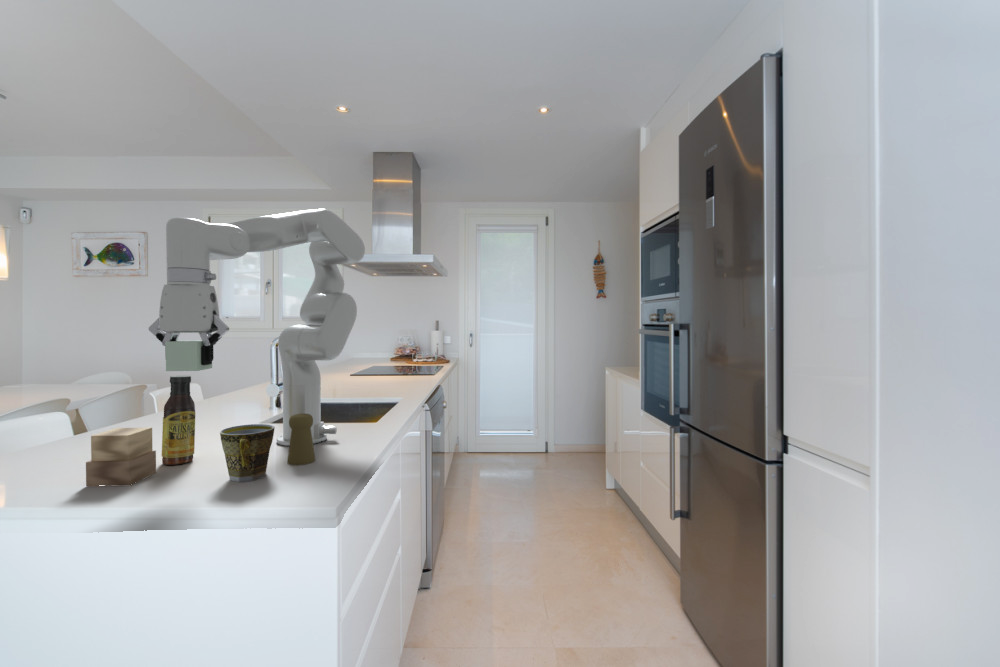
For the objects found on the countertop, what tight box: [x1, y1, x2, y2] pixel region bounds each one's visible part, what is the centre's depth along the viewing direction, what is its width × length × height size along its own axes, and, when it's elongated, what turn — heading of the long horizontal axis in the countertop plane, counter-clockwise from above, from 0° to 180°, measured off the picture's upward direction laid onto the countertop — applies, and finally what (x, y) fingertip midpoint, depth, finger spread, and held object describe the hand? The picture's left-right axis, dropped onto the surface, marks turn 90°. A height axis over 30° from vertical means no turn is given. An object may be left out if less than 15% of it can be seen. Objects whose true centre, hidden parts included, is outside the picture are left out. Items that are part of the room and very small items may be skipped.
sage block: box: [165, 340, 213, 372], centre depth 99 cm, size 6×6×6 cm
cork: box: [286, 413, 316, 466], centre depth 109 cm, size 6×6×11 cm
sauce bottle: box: [161, 375, 196, 466], centre depth 108 cm, size 7×6×20 cm
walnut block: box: [85, 450, 157, 487], centre depth 96 cm, size 8×8×5 cm
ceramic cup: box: [219, 423, 275, 483], centre depth 96 cm, size 13×10×10 cm
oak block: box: [90, 427, 153, 461], centre depth 96 cm, size 7×7×5 cm
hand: (189, 363), depth 99 cm, fingers closed on sage block, 6 cm apart
